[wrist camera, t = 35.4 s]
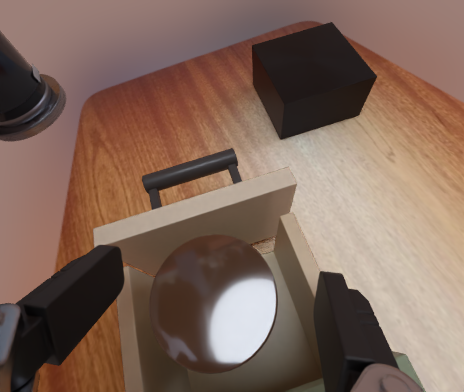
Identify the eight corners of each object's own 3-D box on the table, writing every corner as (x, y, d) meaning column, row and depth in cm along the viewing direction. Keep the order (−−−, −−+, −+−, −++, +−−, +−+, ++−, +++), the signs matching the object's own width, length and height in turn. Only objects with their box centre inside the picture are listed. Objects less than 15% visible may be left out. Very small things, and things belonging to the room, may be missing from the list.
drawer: (143, 214, 25) (88, 161, 17) (260, 177, 25) (261, 109, 17) (188, 491, 16) (119, 653, 8) (365, 425, 17) (460, 518, 9)
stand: (280, 139, 28) (284, 104, 24) (252, 84, 32) (251, 45, 28) (359, 115, 29) (377, 76, 24) (322, 63, 33) (332, 21, 28)
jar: (204, 363, 18) (158, 394, 10) (187, 281, 20) (140, 253, 12) (281, 337, 18) (299, 348, 10) (256, 260, 21) (253, 219, 13)
